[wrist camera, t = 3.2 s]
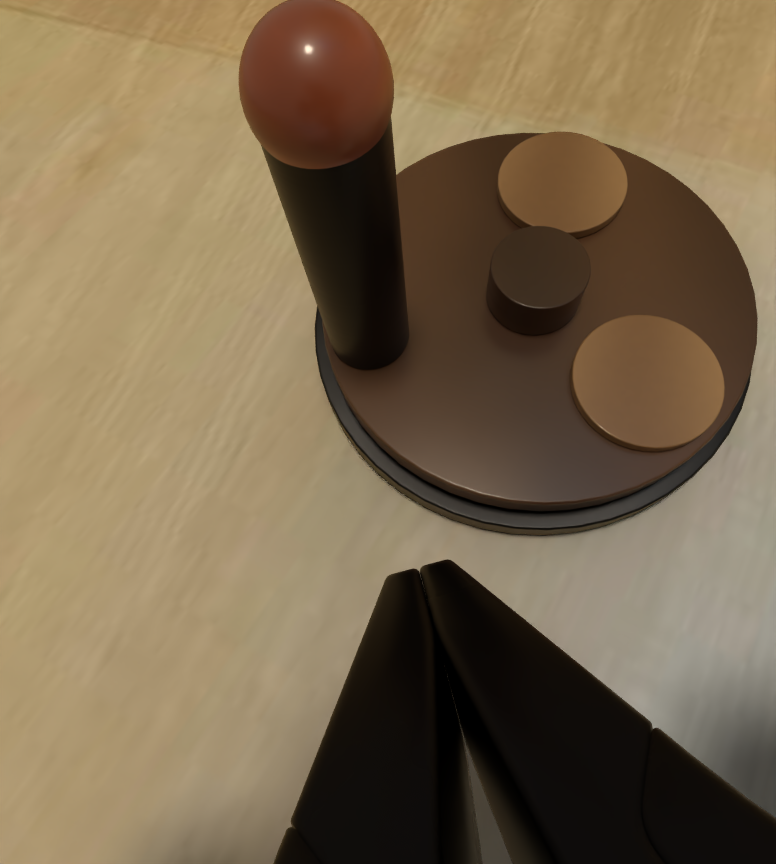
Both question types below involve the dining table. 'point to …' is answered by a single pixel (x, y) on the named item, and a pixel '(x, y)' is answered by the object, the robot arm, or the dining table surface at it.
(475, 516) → the base
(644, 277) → the turntable with crank handle
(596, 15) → the dining table surface
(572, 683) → the robot arm
